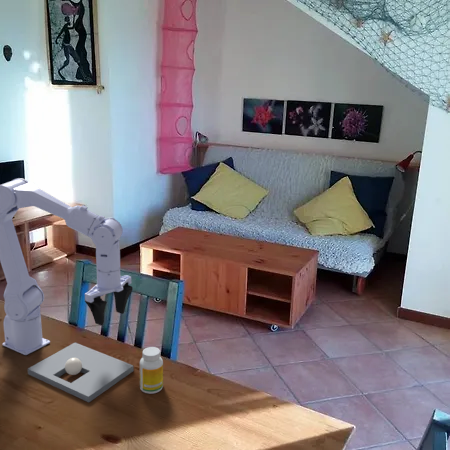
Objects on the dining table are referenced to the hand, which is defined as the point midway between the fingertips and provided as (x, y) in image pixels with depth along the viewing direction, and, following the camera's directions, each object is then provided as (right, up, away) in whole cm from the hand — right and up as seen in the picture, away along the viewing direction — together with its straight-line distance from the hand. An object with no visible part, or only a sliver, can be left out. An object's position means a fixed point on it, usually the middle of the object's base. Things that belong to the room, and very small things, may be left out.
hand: (110, 318), depth 129 cm
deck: (-6, -12, -6) cm, 15 cm away
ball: (-7, -10, -8) cm, 14 cm away
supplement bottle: (+12, -14, -11) cm, 22 cm away
